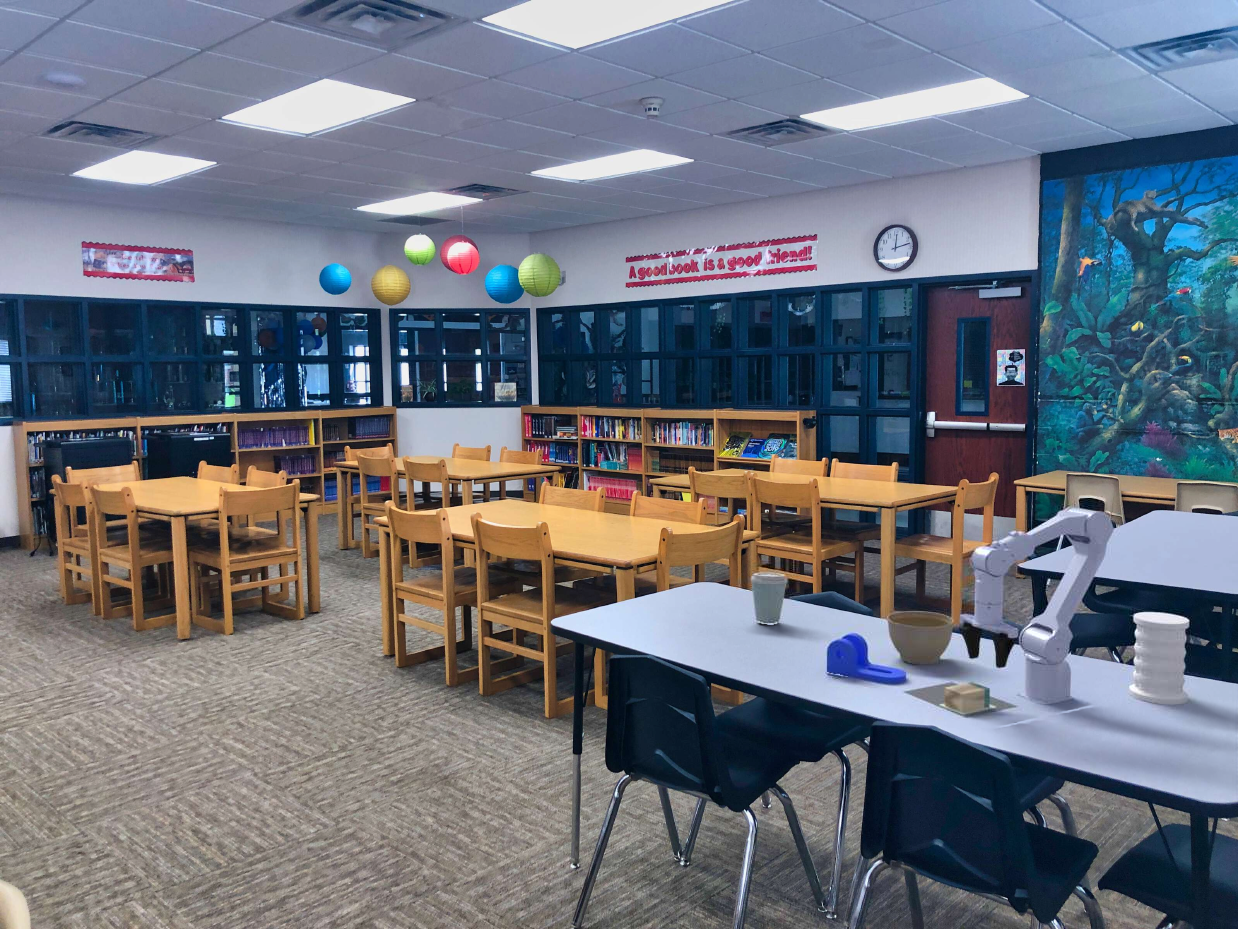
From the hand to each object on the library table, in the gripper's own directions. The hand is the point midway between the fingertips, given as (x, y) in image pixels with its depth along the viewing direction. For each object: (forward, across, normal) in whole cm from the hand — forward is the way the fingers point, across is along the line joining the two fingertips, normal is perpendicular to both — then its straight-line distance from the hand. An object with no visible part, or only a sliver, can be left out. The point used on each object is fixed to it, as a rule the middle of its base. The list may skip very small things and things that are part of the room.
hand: (987, 662), depth 212 cm
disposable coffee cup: (+10, -81, -1) cm, 82 cm away
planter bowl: (+10, -32, +11) cm, 35 cm away
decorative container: (+10, +14, +38) cm, 42 cm away
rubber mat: (+9, -4, -4) cm, 11 cm away
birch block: (+9, 0, -6) cm, 11 cm away
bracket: (+10, -28, -9) cm, 31 cm away
